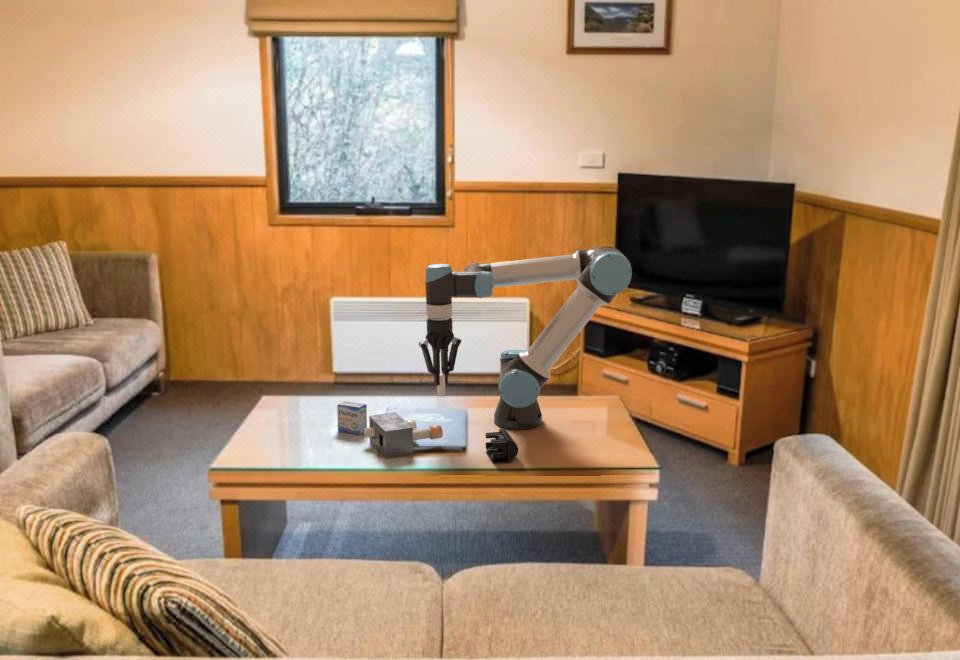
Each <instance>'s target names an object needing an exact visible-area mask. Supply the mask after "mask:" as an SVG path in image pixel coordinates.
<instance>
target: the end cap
mask: <svg viewBox="0 0 960 660" xmlns="http://www.w3.org/2000/svg"><path fill="white" fill-rule="evenodd" d="M485 439H490V441H487V442H485V449H486V450H485V453H486V455H487V457H488V458H489V460H490V461H491V463H492V464H494V465H497V464H508V463H510V462H512V461H513V460H514V459H515V458H516V457H517V456H518V454H519V446H518V444H517V442H516V441H515V440H514V439H513V438H512V436H511V435H510V433H509V432H508V431H507V430H506V429H505V428H499V429H498V431H495V432H494V431H493V432H486V433H485Z"/></svg>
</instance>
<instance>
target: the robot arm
mask: <svg viewBox="0 0 960 660" xmlns="http://www.w3.org/2000/svg"><path fill="white" fill-rule="evenodd" d="M632 271H633V270H632V265H631V261H629V259H628V258H627V257H626V256H625V255H624V253H623V252H621V251H620V250H619V249H618V248H615V247H613V246H606V245H605V246H599V247H593V248H586V249H579V250H578V249H577V250H576V251H575V252H574V253H573V254H566V255H556V256H555V255H554V256H547V257H545V256H544V257H536V258H526V259H518V260H506V261H498V262H490V263H479V262H473V263H470V264H469V265H467V266H466V267H465V269H464V270H463V271H453V270H452V266H451V265H450V264H447V263H434V264H430V265H427V267H426V268H425V279H424V280H425V281H424V282H425V284H424V285H425V302H426V303H425V307H426V308H425V309H426V317H427V319H426V335H425V339H424V340H422V341H419V342H418V347H420V349H421V351H422V355H423V358H424V361H425V362H424V363H425V366H426V369H427V373H428V372H429V373H430V374H431V375H433V382H434V385H435V386H436V389H437V390H436V394H437V396H439V397H446V385H447V384H448V383H449V379H448V378H449V377H448V375H450V372H453V371H454V370H455V365H456V359H457V356H458V351H459V350H458V349H459V347H460V345H461V343H462V339H461V338H459V337H456V336H455V335H454V333H453V318H452V317H453V298H456V299H457V298H470V299H471V298H474V299H475V298H478V299H483V298H490V297H492V296H493V293H494V288H503V287H513V286H522V285H533V284H541V283H543V284H545V283H554V282H564V281H573V280H574V281H575V280H576V283H577V284H576V285H577V287H576V288H575V290H573V292H572V294H571V295H570V296H569V297H568V298H567V300H565V302H564V304H563V305H562V306H561V307H560V309H559V310H558V311H557V312H556V314H555V315H554V316H553V318H552V319H551V320H550V321H549V322H548V324H547V325H546V326H545V327H544V329H543V330H542V331H541V333H539V335H538V336H537V338H536V339H535V340H534V341H533V343H532V344H531V345H530V347H528V349H508V350H503V351H501V353H500V358H499V361H500V364H499V365H500V369H499V371H500V372H499V381H498V385H497V386H498V392H499V399H498V402H497V405H496V408H495V410H494V411H495V412H494V413H493V414H494V415H493V423H494V424H495V425H497V426H498V427H501V428H503V429H508V430H530V429H534V428H537V427H540V426H541V425H542V424H543V414H542V410H541V407H540V404H539V401H538V397H539V396H540V392H541V391H540V390H541V389H542V388H543V386H544V385H545V384H546V383H547V382H548V380H549V379H550V378H551V368H552V367H553V366H554V365H555V363H556V362H557V361H558V360H559V358H560V357H561V356H562V355H563V354H564V352H565V351H566V350H567V349H568V348H569V346H570V345H571V343H572V342H573V341H574V340H575V339H576V338H577V336H578V335H579V333H580V332H581V331H583V328H584V327H585V326H586V325H587V324H588V322H589V321H590V320H591V319H592V317H594V315H595V314H596V312H597V311H598V310H599V309H600V307H602V306H607V305H608V306H609V305H610V304H611V303H612V301H614V299H615V298H616V297H617V295H618V294H620V293H622V292H623V291H625V290H626V289H627V288H628V286H629V284H630V283H631V281H632V280H631V279H632V273H633V272H632ZM429 345H430V347H431V351H432V357H431V354H430V350H429ZM450 345H451V346H450ZM449 347H450V350H449Z"/></svg>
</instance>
